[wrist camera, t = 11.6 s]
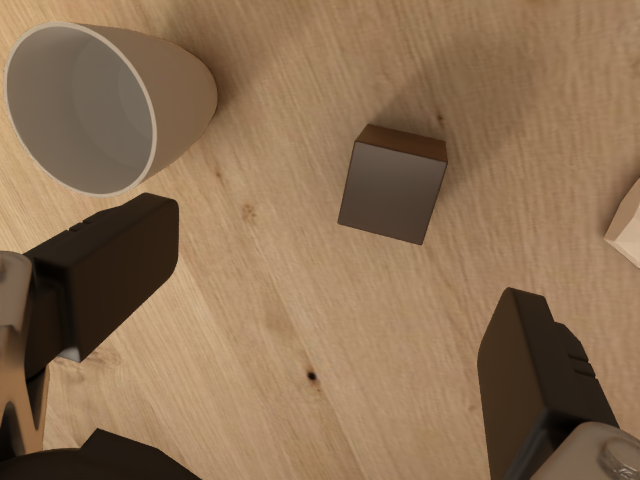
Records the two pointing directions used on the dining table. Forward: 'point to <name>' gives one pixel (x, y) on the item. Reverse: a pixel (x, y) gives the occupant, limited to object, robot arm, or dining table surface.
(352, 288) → the dining table surface
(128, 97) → the cup
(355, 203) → the walnut block
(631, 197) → the crystal
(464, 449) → the dining table surface
